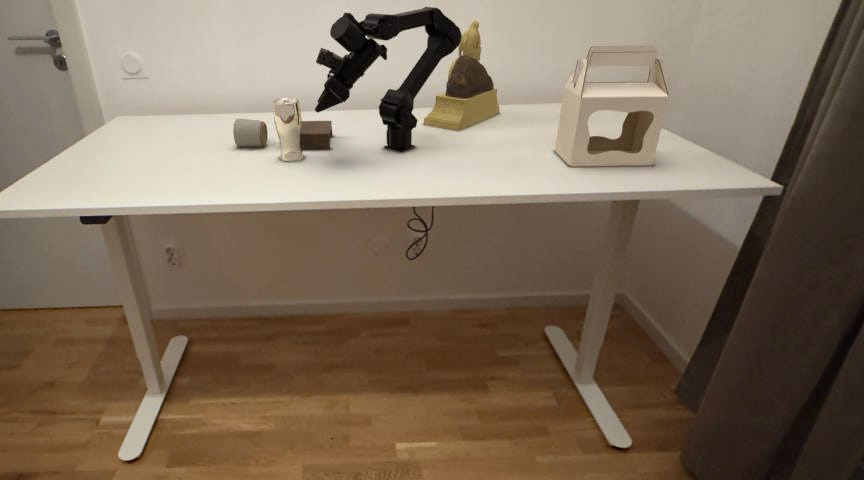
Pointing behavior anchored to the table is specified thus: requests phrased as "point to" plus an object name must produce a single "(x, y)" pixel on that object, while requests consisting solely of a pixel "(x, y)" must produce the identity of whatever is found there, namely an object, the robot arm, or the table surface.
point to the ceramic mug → (250, 133)
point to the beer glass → (288, 128)
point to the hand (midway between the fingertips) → (317, 106)
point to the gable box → (632, 97)
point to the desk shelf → (316, 135)
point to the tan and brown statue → (465, 89)
